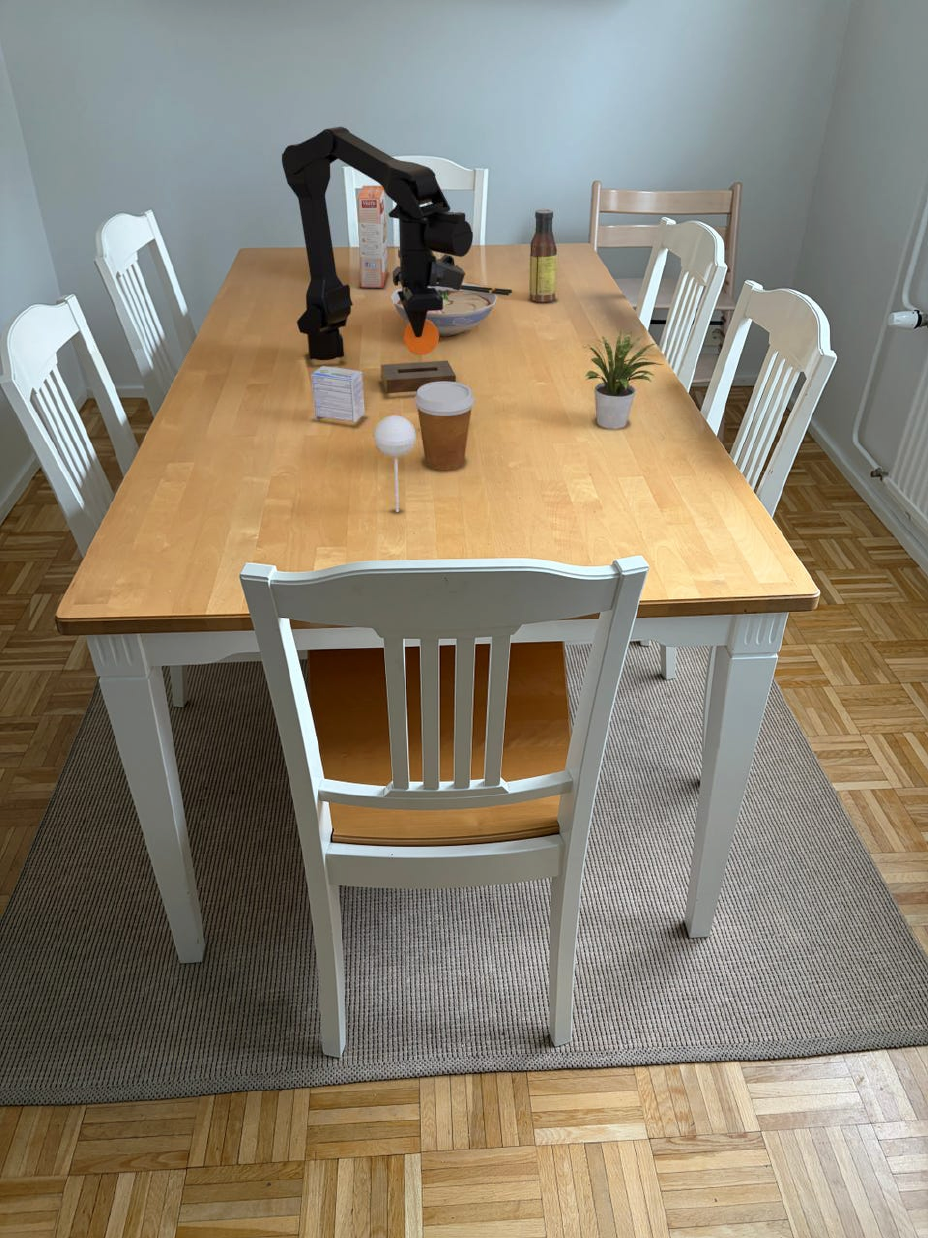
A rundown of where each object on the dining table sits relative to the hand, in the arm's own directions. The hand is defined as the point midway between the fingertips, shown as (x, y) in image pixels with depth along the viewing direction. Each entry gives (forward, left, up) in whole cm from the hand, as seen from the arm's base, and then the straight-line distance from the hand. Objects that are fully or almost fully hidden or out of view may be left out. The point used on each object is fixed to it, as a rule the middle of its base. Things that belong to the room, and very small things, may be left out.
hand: (417, 335), depth 175 cm
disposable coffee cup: (-1, -32, -10) cm, 34 cm away
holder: (0, 0, -10) cm, 10 cm away
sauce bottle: (+38, +49, -10) cm, 63 cm away
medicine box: (-16, -12, -10) cm, 23 cm away
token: (0, 0, -4) cm, 4 cm away
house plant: (+30, -23, -10) cm, 39 cm away
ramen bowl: (+11, +31, -10) cm, 34 cm away
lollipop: (-11, -47, -10) cm, 49 cm away
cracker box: (+1, +71, -10) cm, 72 cm away
